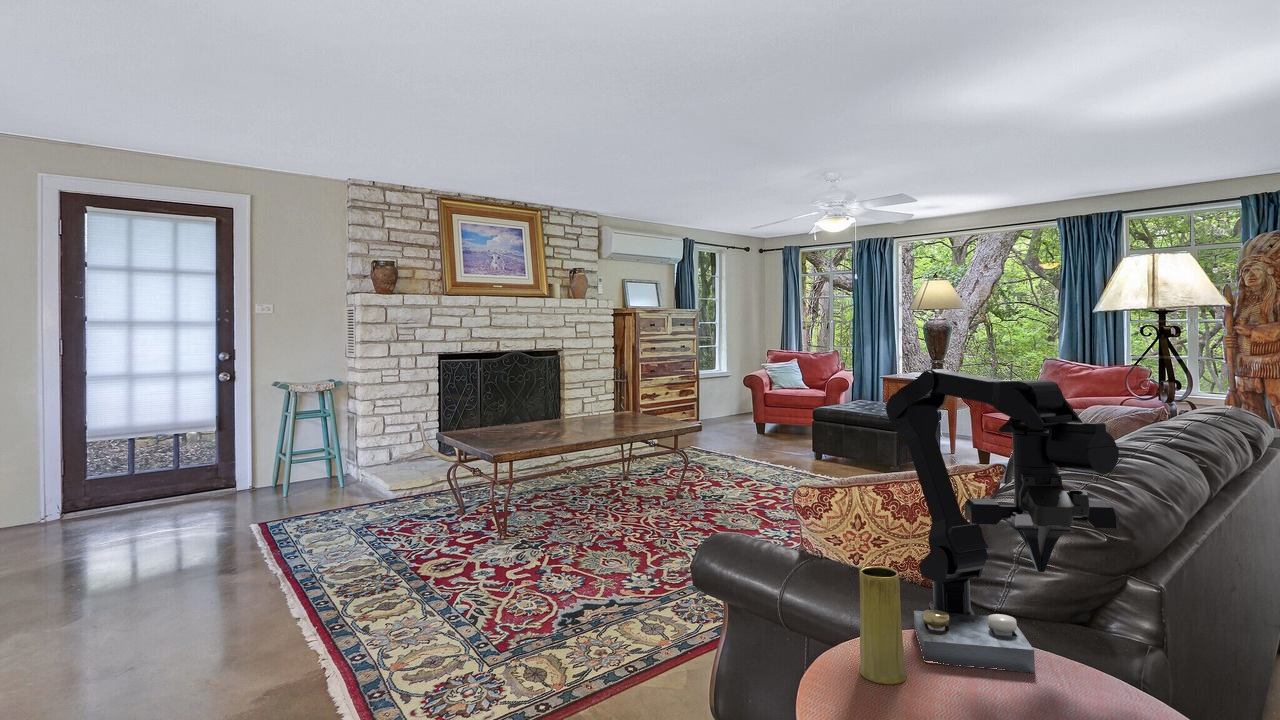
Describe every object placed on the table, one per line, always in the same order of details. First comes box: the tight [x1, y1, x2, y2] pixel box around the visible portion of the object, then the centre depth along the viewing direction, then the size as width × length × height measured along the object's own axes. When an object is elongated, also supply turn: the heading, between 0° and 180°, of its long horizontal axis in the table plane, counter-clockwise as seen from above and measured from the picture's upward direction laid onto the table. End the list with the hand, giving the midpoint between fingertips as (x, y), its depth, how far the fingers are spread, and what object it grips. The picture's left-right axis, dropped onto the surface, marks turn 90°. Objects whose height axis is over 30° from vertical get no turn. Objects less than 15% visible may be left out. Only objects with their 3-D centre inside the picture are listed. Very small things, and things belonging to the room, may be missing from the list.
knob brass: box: [922, 609, 949, 631], centre depth 98 cm, size 4×4×5 cm
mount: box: [913, 610, 1036, 674], centre depth 96 cm, size 12×14×3 cm
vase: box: [859, 565, 907, 686], centre depth 90 cm, size 6×6×14 cm
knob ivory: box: [987, 613, 1018, 636], centre depth 95 cm, size 4×4×5 cm
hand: (1040, 571), depth 95 cm, fingers closed
